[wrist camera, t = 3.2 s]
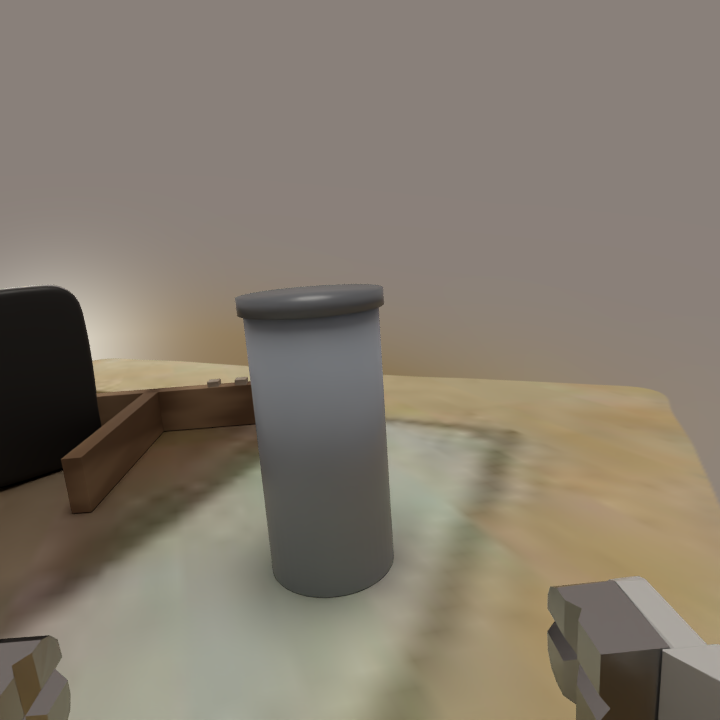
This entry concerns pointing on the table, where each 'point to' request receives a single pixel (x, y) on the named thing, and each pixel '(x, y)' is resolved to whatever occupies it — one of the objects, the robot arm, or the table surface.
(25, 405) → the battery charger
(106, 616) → the table surface
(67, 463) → the dock
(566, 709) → the table surface
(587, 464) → the table surface
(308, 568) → the canister
